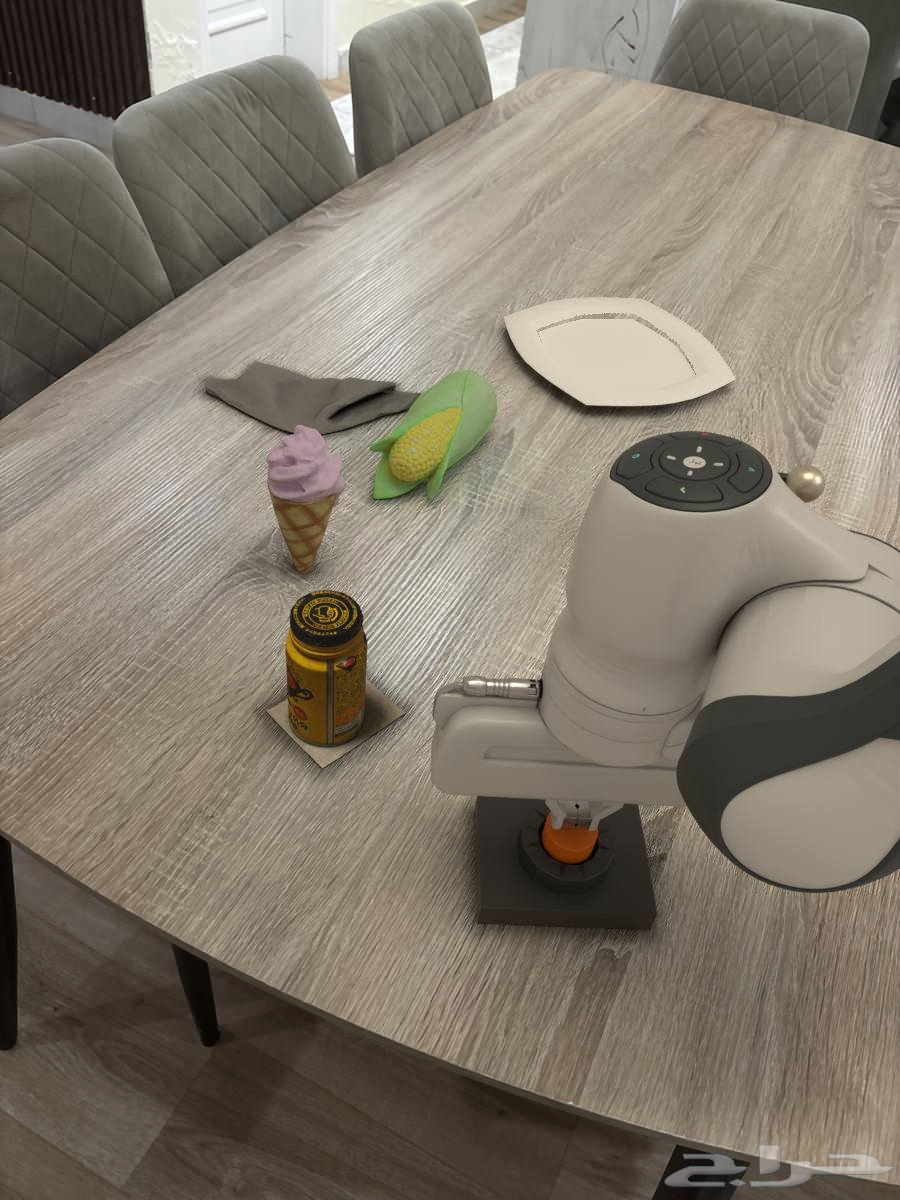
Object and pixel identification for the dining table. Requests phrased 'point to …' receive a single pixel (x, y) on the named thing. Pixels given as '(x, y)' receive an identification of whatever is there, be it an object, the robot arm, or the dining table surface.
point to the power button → (568, 843)
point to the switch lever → (805, 482)
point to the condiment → (329, 679)
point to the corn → (435, 434)
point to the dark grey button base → (559, 870)
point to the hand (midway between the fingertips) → (572, 821)
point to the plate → (617, 353)
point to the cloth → (309, 398)
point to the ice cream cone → (304, 491)
